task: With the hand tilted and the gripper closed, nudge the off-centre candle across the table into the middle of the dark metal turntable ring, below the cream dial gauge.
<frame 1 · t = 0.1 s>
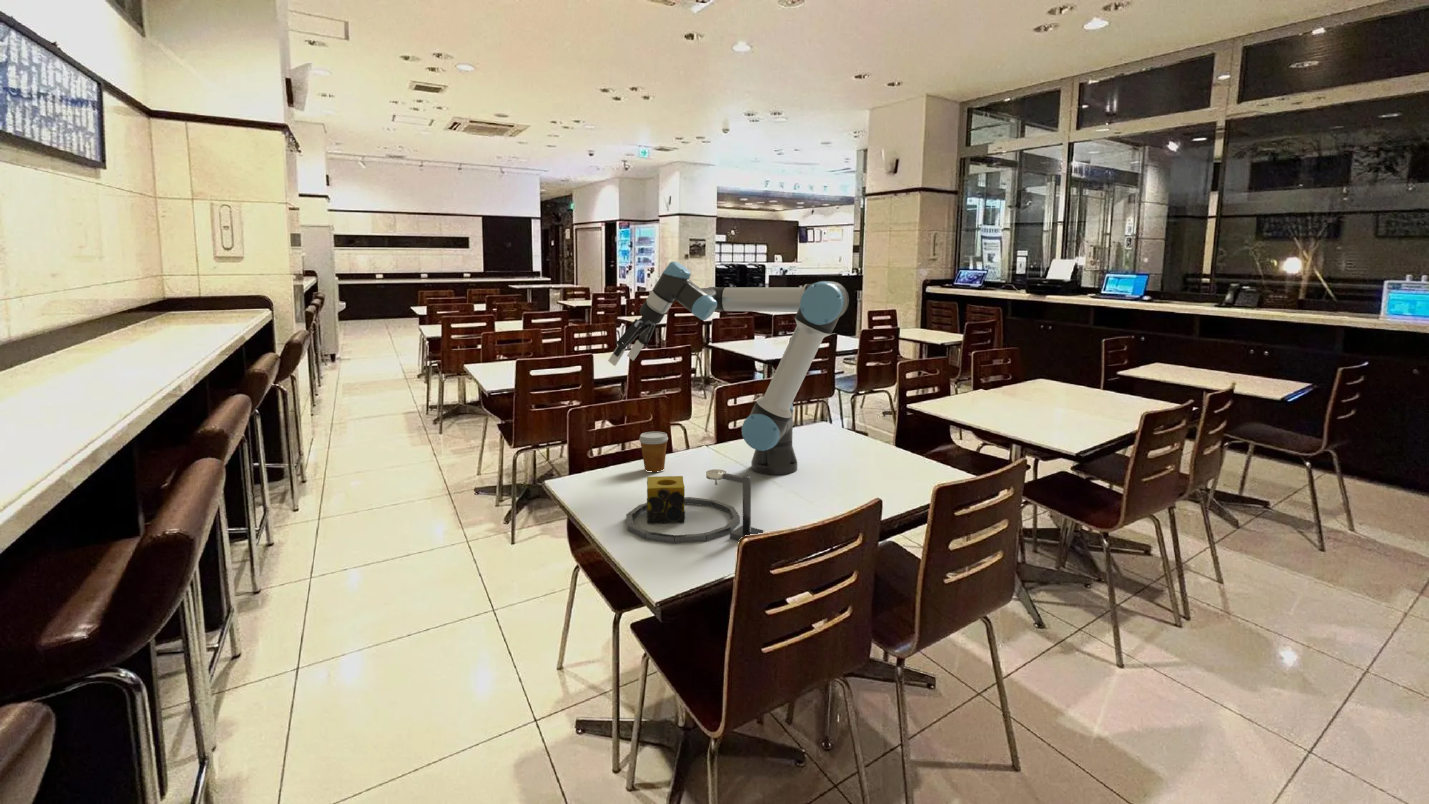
hand: (621, 360, 222), 36 cm above the table, tool tilted 35°, fingers open, 13 cm apart
dial indicator stand: (746, 537, 169), on the table
disposable coffee cup: (654, 470, 226), on the table
candle: (665, 518, 183), resting in turntable ring
turntable ring: (682, 521, 180), on the table
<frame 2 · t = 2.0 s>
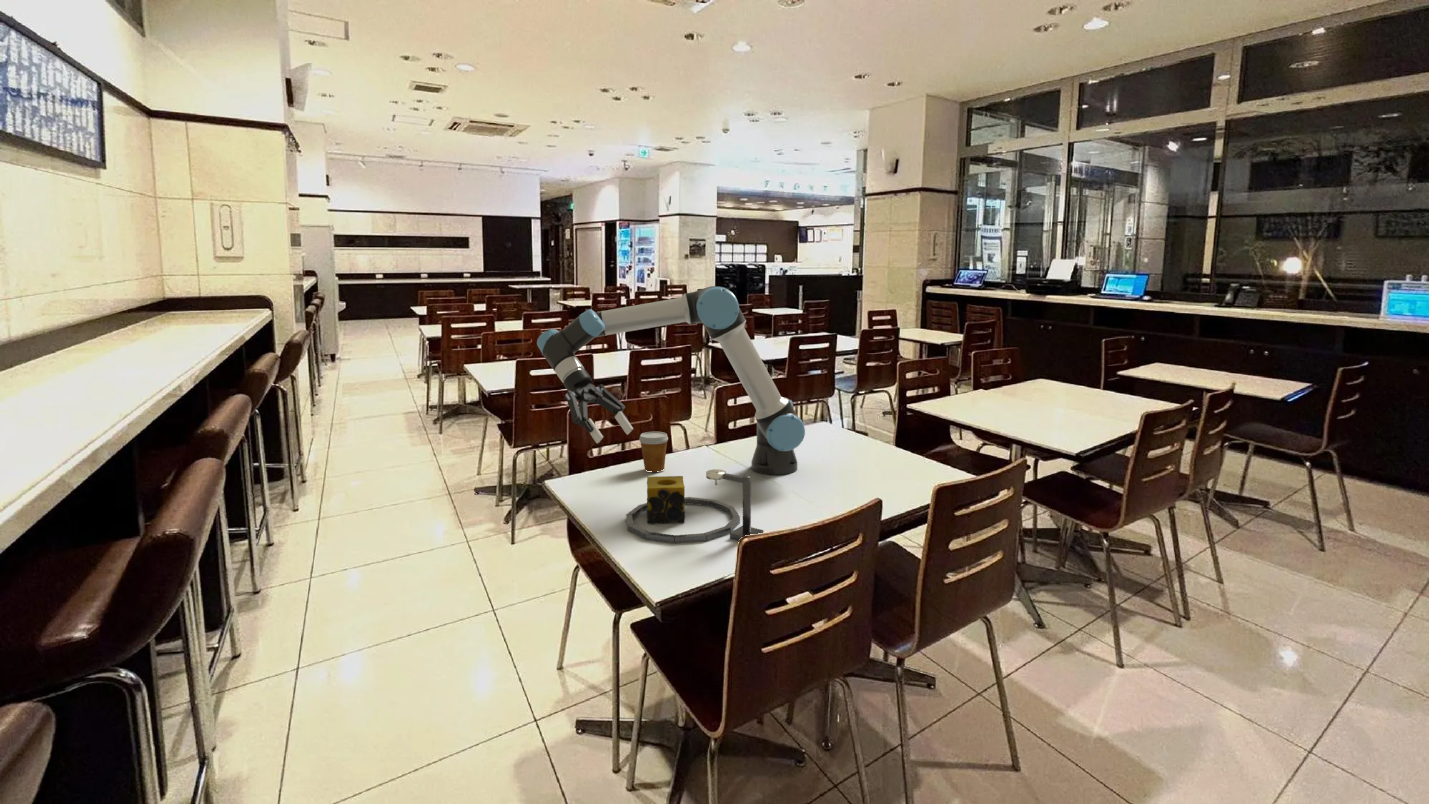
hand: (615, 435, 191), 19 cm above the table, tool tilted 45°, fingers open, 11 cm apart
nothing on the table moved.
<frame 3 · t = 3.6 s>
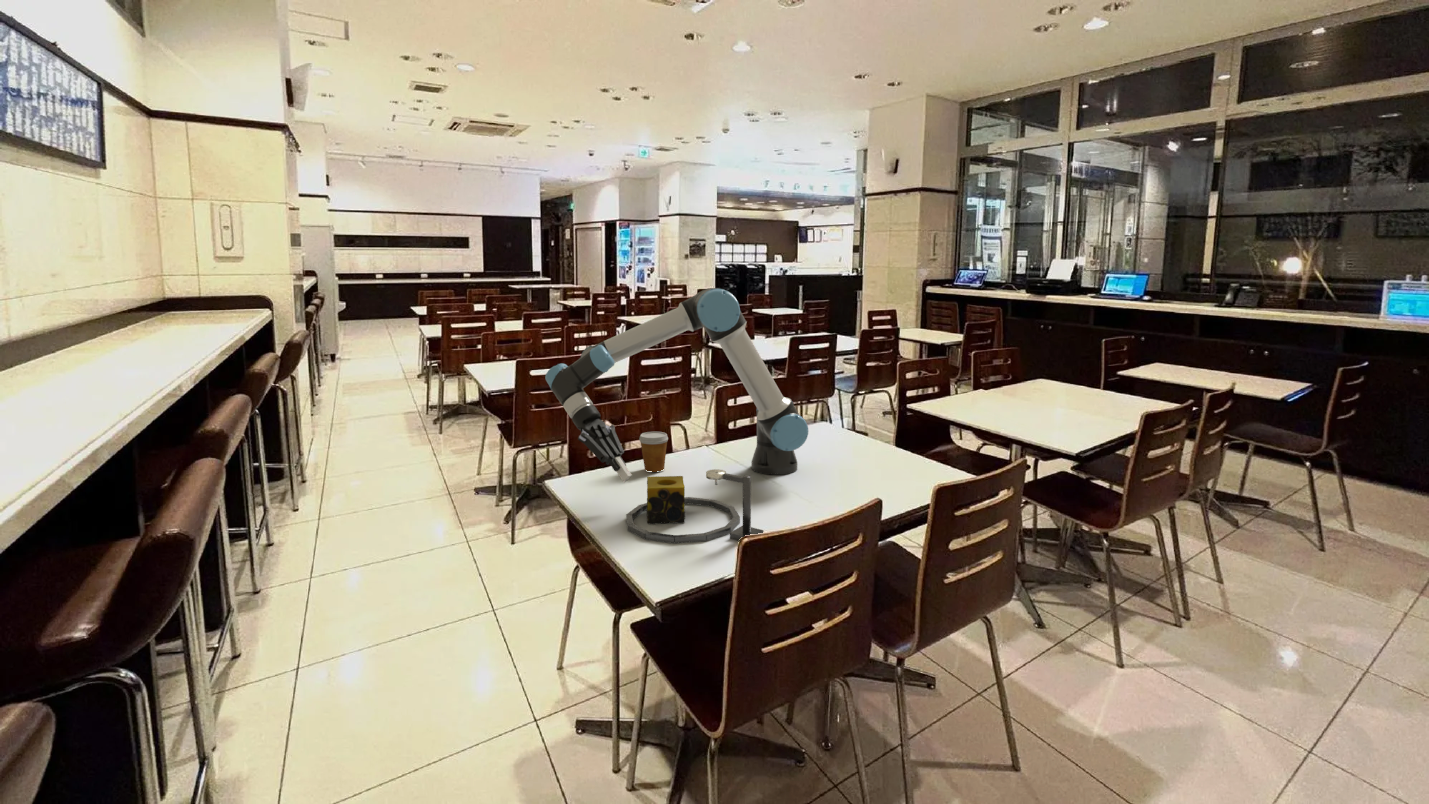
hand: (627, 478, 189), 8 cm above the table, tool tilted 45°, fingers closed
nothing on the table moved.
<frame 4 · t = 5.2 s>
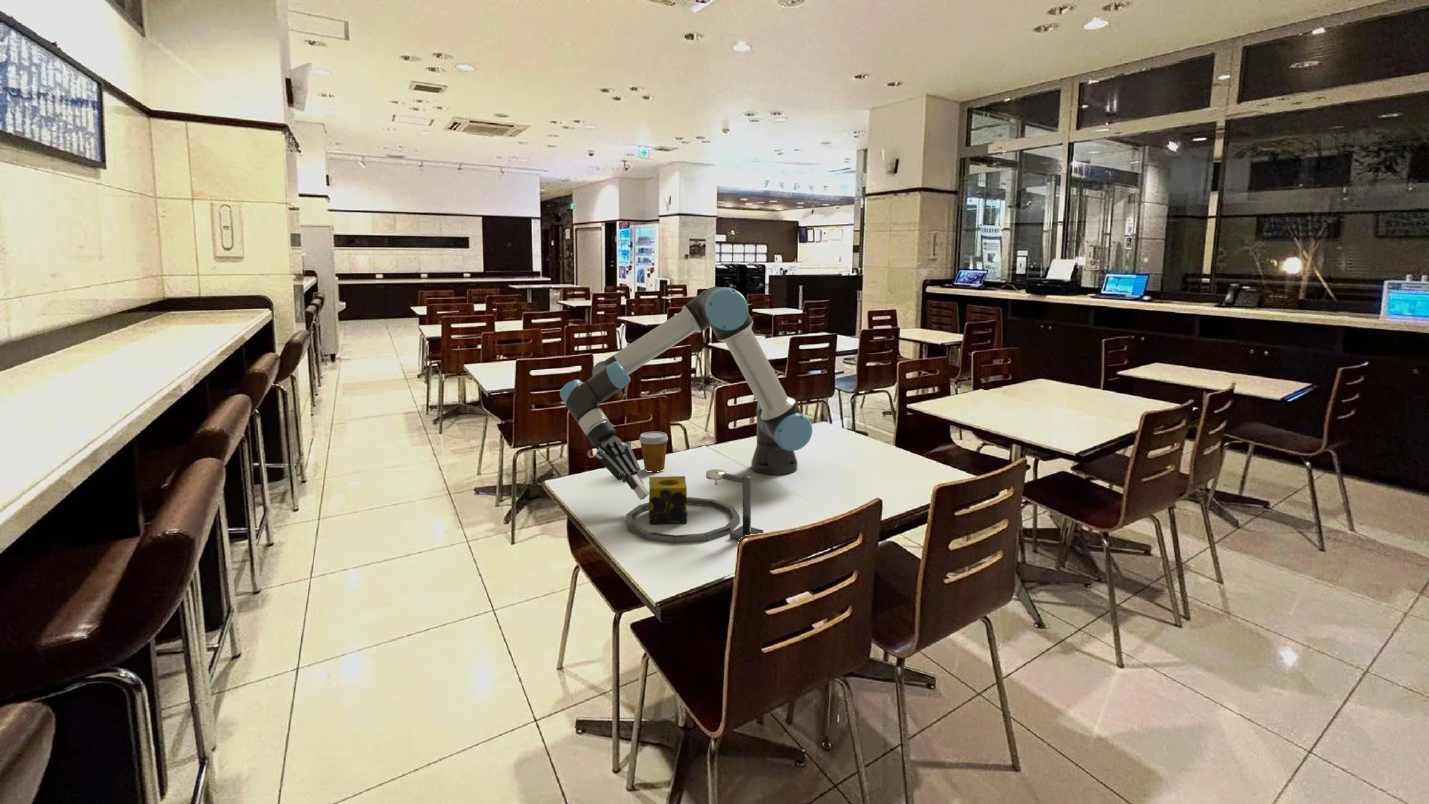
hand: (644, 496, 186), 4 cm above the table, tool tilted 45°, fingers closed
candle: (668, 518, 183), resting in turntable ring, touching gripper
everything else where it was.
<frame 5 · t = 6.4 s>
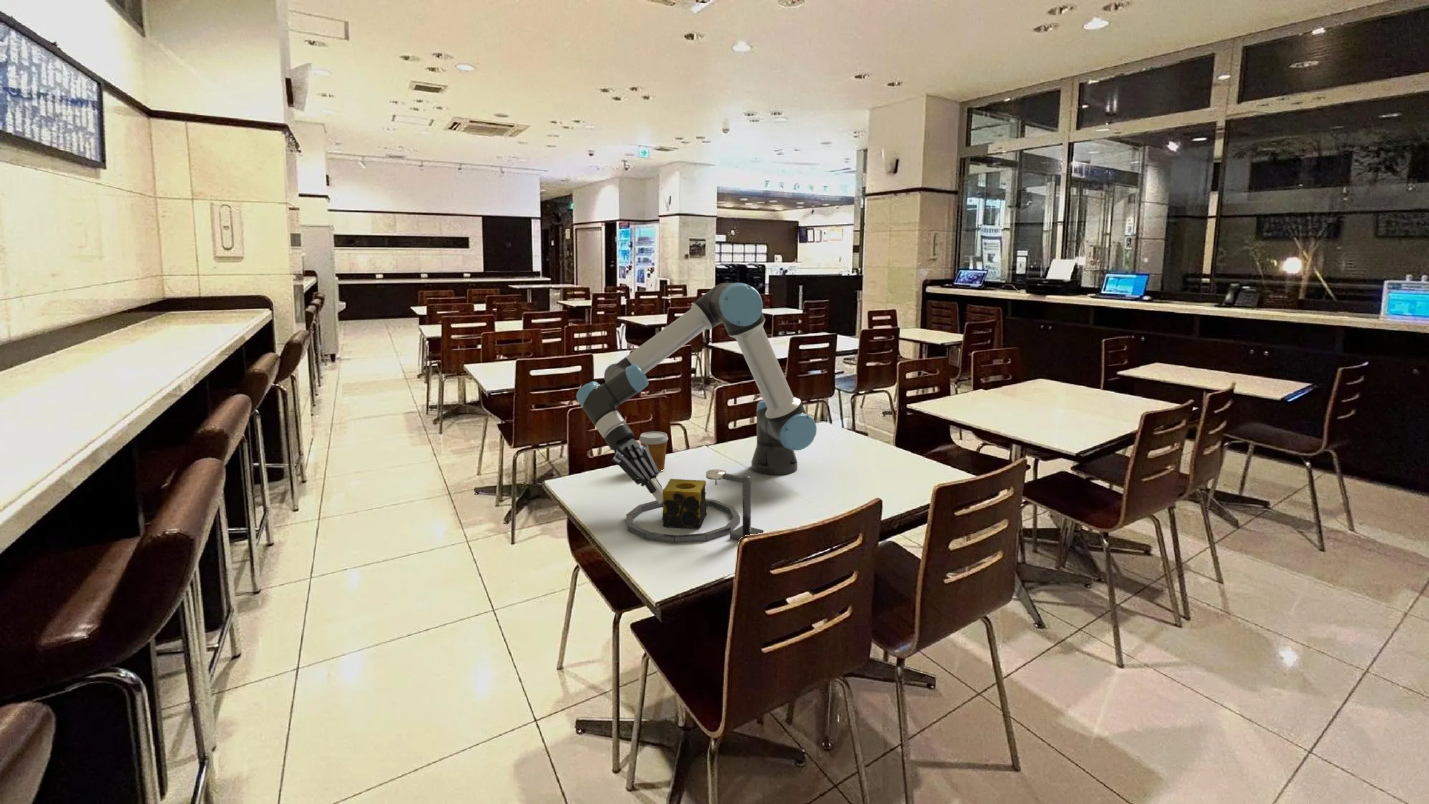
hand: (663, 500, 182), 4 cm above the table, tool tilted 45°, fingers closed
candle: (684, 522, 180), resting in turntable ring, touching gripper
everything else where it was.
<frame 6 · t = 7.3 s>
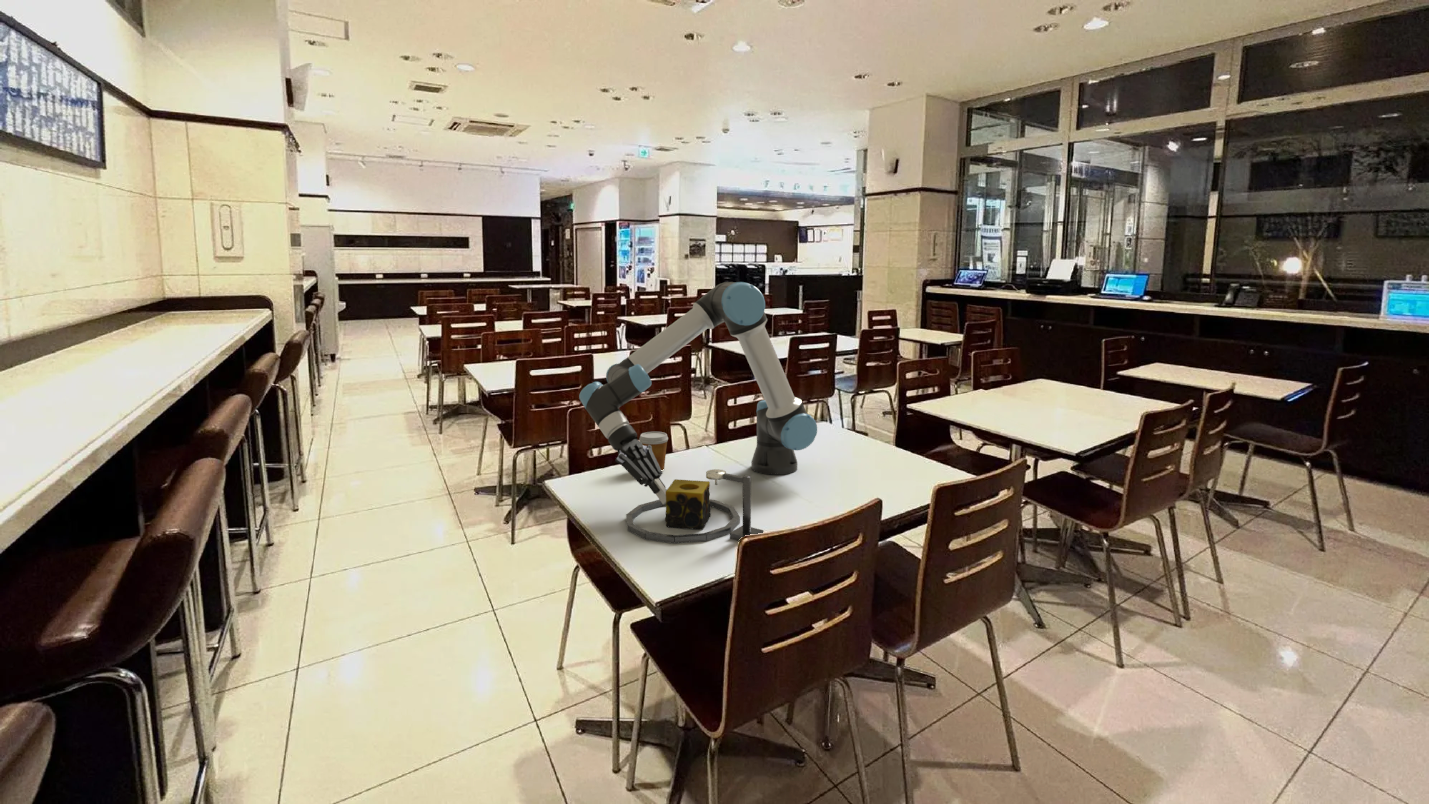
hand: (667, 501, 182), 5 cm above the table, tool tilted 45°, fingers closed
candle: (688, 522, 179), resting in turntable ring, touching gripper
everything else where it was.
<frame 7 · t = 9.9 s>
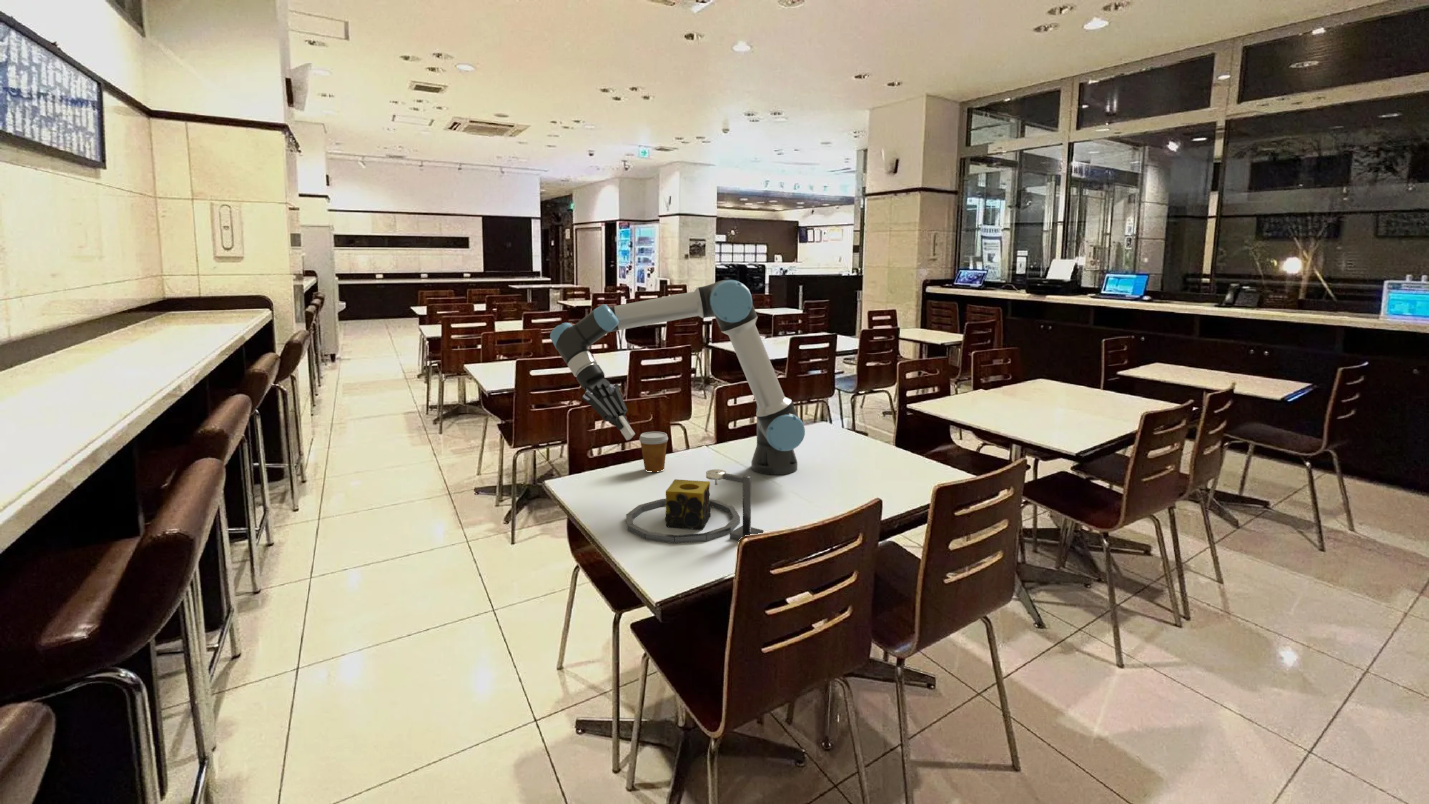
hand: (630, 437, 192), 19 cm above the table, tool tilted 40°, fingers closed
candle: (688, 522, 179), resting in turntable ring
everything else where it was.
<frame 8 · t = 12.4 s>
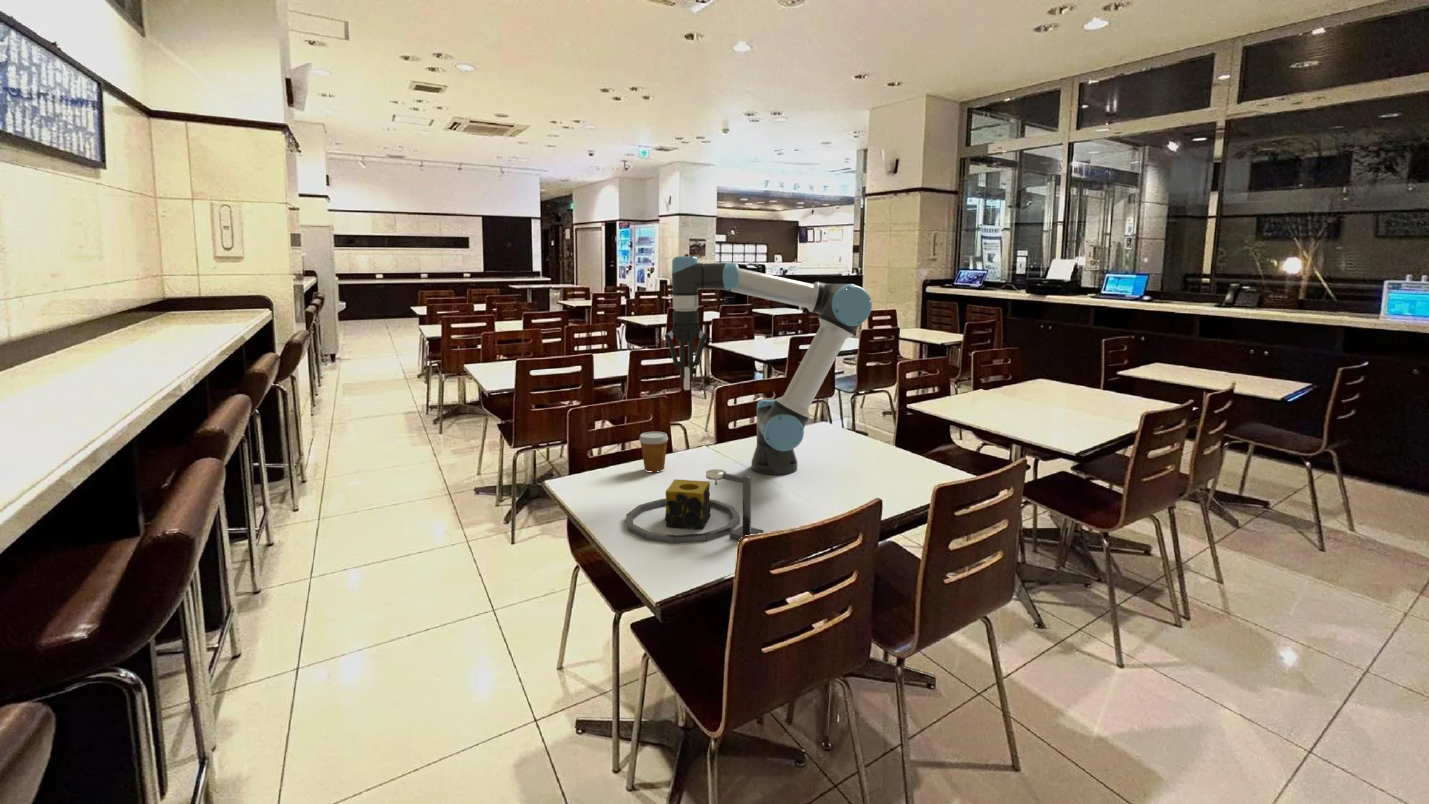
hand: (686, 389, 206), 29 cm above the table, tool pointing down, fingers closed
nothing on the table moved.
at the end: candle 1.6 cm from the turntable ring (horizontally); candle tilted 0° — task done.
